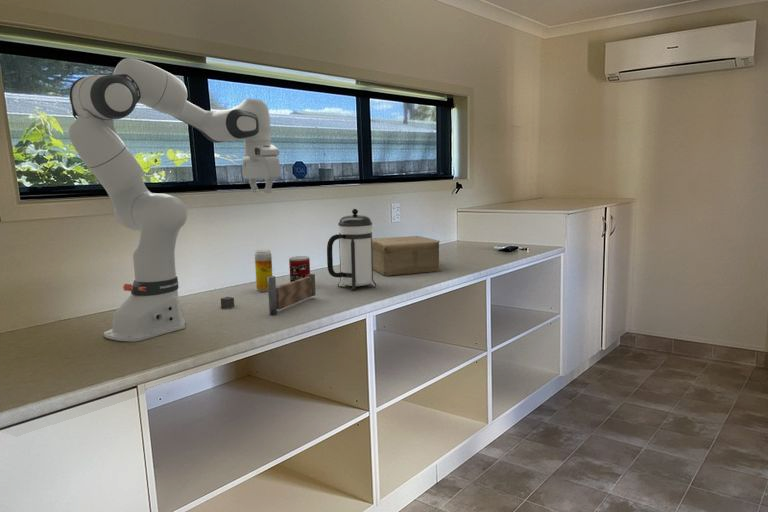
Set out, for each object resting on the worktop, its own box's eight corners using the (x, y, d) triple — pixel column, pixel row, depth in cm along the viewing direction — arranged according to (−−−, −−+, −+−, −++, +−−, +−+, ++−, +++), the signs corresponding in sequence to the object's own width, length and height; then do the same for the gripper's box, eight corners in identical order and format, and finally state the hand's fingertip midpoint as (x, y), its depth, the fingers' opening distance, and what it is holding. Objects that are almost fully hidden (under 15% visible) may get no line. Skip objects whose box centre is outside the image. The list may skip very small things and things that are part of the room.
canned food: (286, 286, 209) (285, 258, 208) (297, 282, 217) (296, 255, 215) (303, 288, 207) (302, 259, 205) (314, 283, 214) (313, 256, 212)
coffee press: (340, 282, 216) (338, 207, 211) (379, 283, 213) (378, 207, 208) (327, 292, 199) (325, 210, 194) (369, 293, 196) (368, 210, 191)
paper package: (417, 262, 258) (417, 233, 256) (442, 272, 234) (442, 240, 232) (364, 267, 248) (363, 237, 246) (384, 277, 225) (383, 244, 222)
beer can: (269, 292, 201) (267, 252, 198) (254, 291, 202) (251, 252, 200) (275, 288, 207) (273, 249, 204) (260, 288, 208) (258, 249, 205)
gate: (280, 309, 171) (278, 286, 170) (274, 309, 172) (273, 285, 171) (315, 295, 190) (314, 274, 189) (310, 294, 191) (309, 273, 190)
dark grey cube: (234, 306, 181) (233, 297, 180) (227, 308, 178) (227, 299, 177) (227, 305, 182) (227, 296, 182) (221, 307, 179) (220, 298, 179)
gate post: (274, 315, 168) (272, 277, 167) (267, 314, 170) (265, 277, 168) (278, 313, 171) (276, 276, 169) (272, 312, 172) (270, 275, 170)
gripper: (235, 151, 183) (239, 192, 186) (263, 149, 168) (267, 194, 170) (252, 151, 187) (256, 191, 190) (281, 149, 172) (284, 193, 174)
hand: (261, 192), depth 180 cm, fingers open, 8 cm apart
